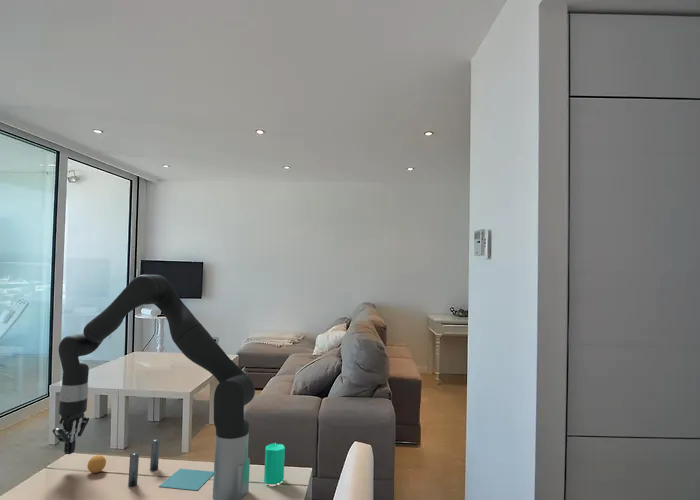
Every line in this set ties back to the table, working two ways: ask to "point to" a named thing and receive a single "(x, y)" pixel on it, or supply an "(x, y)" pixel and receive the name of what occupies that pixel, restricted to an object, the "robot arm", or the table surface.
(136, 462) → the left post
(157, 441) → the right post
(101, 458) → the ball
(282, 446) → the candle
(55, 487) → the table surface
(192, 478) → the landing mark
